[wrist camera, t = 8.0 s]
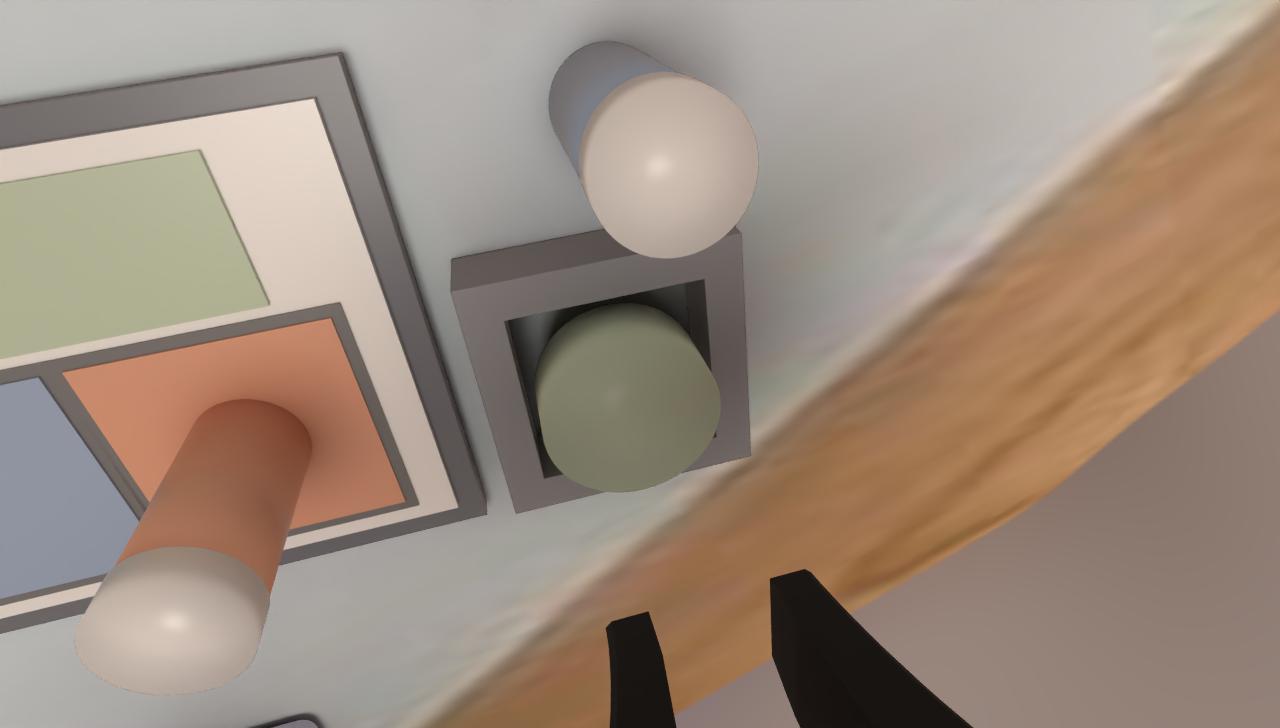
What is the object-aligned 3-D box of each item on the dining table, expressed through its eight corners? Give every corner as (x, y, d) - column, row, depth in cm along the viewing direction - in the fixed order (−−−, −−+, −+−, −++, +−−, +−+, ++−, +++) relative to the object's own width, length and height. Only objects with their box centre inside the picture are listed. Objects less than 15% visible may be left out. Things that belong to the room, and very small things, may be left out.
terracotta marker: (332, 471, 19) (285, 667, 14) (222, 501, 18) (132, 712, 13) (284, 384, 17) (210, 568, 12) (163, 415, 17) (35, 617, 12)
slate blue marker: (672, 156, 17) (760, 241, 12) (558, 177, 17) (602, 273, 12) (660, 29, 16) (756, 66, 11) (535, 50, 16) (573, 98, 10)
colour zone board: (486, 501, 22) (487, 522, 21) (-77, 638, 20) (-100, 667, 19) (342, 53, 15) (335, 58, 14) (-552, 192, 13) (-620, 207, 12)
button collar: (728, 417, 22) (751, 455, 20) (511, 469, 21) (515, 513, 19) (715, 207, 18) (741, 232, 17) (451, 259, 17) (450, 291, 16)
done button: (702, 425, 20) (725, 469, 18) (551, 461, 19) (560, 510, 18) (690, 287, 17) (715, 322, 16) (518, 323, 17) (524, 364, 15)
